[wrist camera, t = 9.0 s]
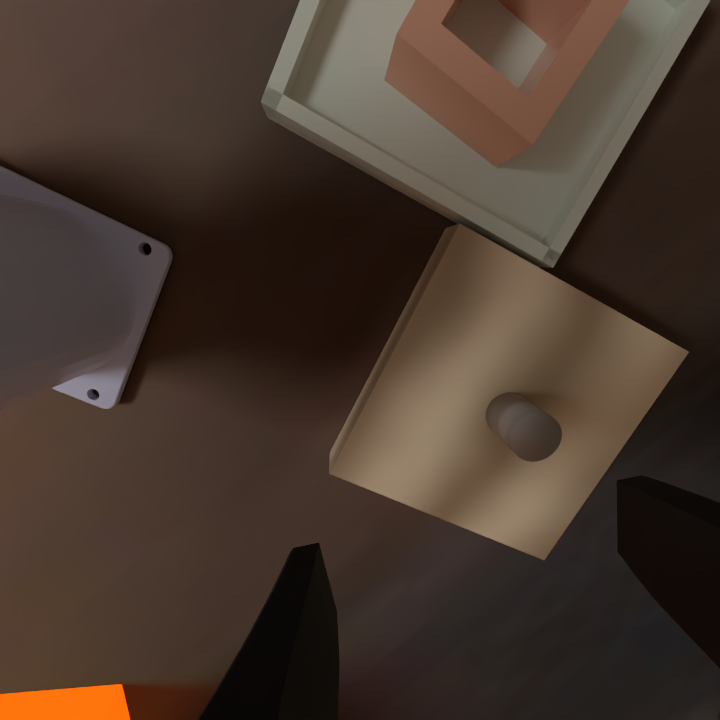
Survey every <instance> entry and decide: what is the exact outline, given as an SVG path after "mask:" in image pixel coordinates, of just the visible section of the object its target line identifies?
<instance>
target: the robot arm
mask: <svg viewBox="0 0 720 720" xmlns="http://www.w3.org/2000/svg"><path fill="white" fill-rule="evenodd" d="M146 243H148V244H149V245H150V246H151V253H150V254H149V255H146V254H145V253H144V251H143V246H144V245H145V244H146ZM172 258H173V255H172V251H171V249H170V248H169V247H168V246H167V245H166V244H164V243H162V242H160V241H158V240H155V239H153V238H151V237H149V236H147V235H145V234H143V233H141V232H139V231H137V230H135V229H132V228H130V227H128V226H126V225H124V224H122V223H120V222H118V221H116V220H114V219H111V218H109V217H107V216H105V215H103V214H101V213H99V212H97V211H95V210H93V209H90V208H88V207H86V206H84V205H82V204H80V203H78V202H76V201H74V200H72V199H70V198H67V197H65V196H63V195H61V194H59V193H57V192H55V191H53V190H51V189H49V188H46V187H44V186H42V185H40V184H38V183H36V182H34V181H32V180H30V179H28V178H25V177H23V176H21V175H19V174H17V173H15V172H13V171H11V170H9V169H7V168H4V167H2V166H0V410H2V409H5V408H7V407H9V406H11V405H14V404H16V403H18V402H21V401H23V400H25V399H28V398H30V397H32V396H35V395H37V394H39V393H42V392H44V391H46V390H49V389H51V388H52V389H54V390H57V391H59V392H62V393H65V394H67V395H70V396H72V397H75V398H77V399H80V400H82V401H85V402H88V403H90V404H93V405H95V406H98V407H100V408H104V409H109V408H112V407H113V406H115V405H117V404H118V402H119V401H120V399H121V396H122V393H123V391H124V388H125V385H126V382H127V380H128V377H129V374H130V372H131V369H132V366H133V364H134V361H135V358H136V356H137V353H138V350H139V348H140V345H141V342H142V340H143V337H144V334H145V332H146V329H147V326H148V324H149V321H150V318H151V316H152V313H153V310H154V307H155V305H156V302H157V299H158V297H159V294H160V291H161V289H162V286H163V283H164V281H165V278H166V275H167V273H168V270H169V267H170V265H171V262H172ZM93 389H95V390H97V391H98V393H99V397H97V396H95V395H94V394H93ZM617 532H618V553H619V554H620V555H621V557H622V558H623V559H624V561H625V562H626V563H627V565H628V566H629V567H630V569H631V570H632V571H633V573H634V574H635V576H636V577H637V578H638V579H639V581H640V582H641V583H642V584H643V586H644V587H645V588H646V589H647V591H648V592H649V593H650V594H651V596H652V597H653V598H654V599H655V600H656V601H657V602H658V603H659V604H660V606H661V607H662V608H663V609H664V610H665V611H666V612H667V613H668V614H669V615H670V616H671V617H672V618H673V619H674V621H675V622H676V623H677V624H678V625H679V626H680V627H681V628H682V629H683V630H684V631H685V632H686V633H687V634H688V635H689V636H690V638H691V639H692V640H693V641H694V642H695V643H696V644H697V645H698V646H699V647H700V648H701V649H702V650H703V651H704V652H705V653H706V654H707V655H708V656H709V657H710V659H711V660H712V661H713V662H714V663H715V664H716V665H717V666H718V667H719V668H720V503H719V502H716V501H713V500H710V499H708V498H705V497H702V496H700V495H697V494H694V493H692V492H689V491H686V490H683V489H681V488H678V487H675V486H672V485H669V484H667V483H664V482H661V481H658V480H655V479H652V478H648V477H645V476H637V477H632V478H627V479H622V480H618V481H617ZM338 689H339V643H338V625H337V610H336V607H335V603H334V599H333V595H332V591H331V587H330V583H329V580H328V576H327V572H326V568H325V564H324V560H323V557H322V553H321V549H320V545H319V543H315V544H311V545H306V546H301V547H296V548H293V549H292V551H291V552H290V554H289V556H288V558H287V560H286V562H285V564H284V567H283V569H282V571H281V573H280V575H279V577H278V579H277V581H276V583H275V585H274V587H273V589H272V591H271V593H270V595H269V597H268V599H267V601H266V603H265V605H264V607H263V609H262V610H261V612H260V614H259V616H258V618H257V620H256V622H255V623H254V625H253V627H252V629H251V631H250V633H249V635H248V636H247V638H246V640H245V642H244V644H243V645H242V647H241V649H240V650H239V652H238V654H237V656H236V657H235V659H234V661H233V662H232V664H231V666H230V667H229V669H228V671H227V672H226V674H225V676H224V677H223V679H222V681H221V682H220V684H219V686H218V688H217V689H216V691H215V692H214V694H213V696H212V697H211V699H210V700H209V702H208V704H207V705H206V707H205V708H204V710H203V711H202V713H201V714H200V716H199V718H198V719H197V720H337V716H338Z"/></svg>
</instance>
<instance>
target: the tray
mask: <svg viewBox="0 0 720 720" xmlns="http://www.w3.org/2000/svg"><path fill="white" fill-rule="evenodd" d="M414 2H415V0H300V2H299V5H298V7H297V10H296V12H295V15H294V17H293V20H292V23H291V25H290V28H289V30H288V33H287V35H286V38H285V41H284V43H283V46H282V48H281V51H280V53H279V56H278V59H277V61H276V64H275V66H274V69H273V71H272V74H271V77H270V79H269V82H268V84H267V87H266V90H265V92H264V95H263V97H262V100H261V104H262V106H263V108H264V111H265V113H266V115H267V117H268V118H269V119H271V120H273V121H274V122H276V123H278V124H280V125H281V126H283V127H285V128H287V129H289V130H290V131H292V132H294V133H296V134H298V135H299V136H301V137H303V138H305V139H306V140H308V141H310V142H312V143H314V144H315V145H317V146H319V147H321V148H323V149H324V150H326V151H328V152H330V153H331V154H333V155H335V156H337V157H339V158H340V159H342V160H344V161H346V162H348V163H349V164H351V165H353V166H355V167H356V168H358V169H360V170H362V171H364V172H365V173H367V174H369V175H371V176H373V177H374V178H376V179H378V180H380V181H381V182H383V183H385V184H387V185H389V186H390V187H392V188H394V189H396V190H398V191H399V192H401V193H403V194H405V195H406V196H408V197H410V198H412V199H414V200H415V201H417V202H419V203H421V204H423V205H424V206H426V207H428V208H430V209H431V210H433V211H435V212H437V213H439V214H440V215H442V216H444V217H446V218H448V219H449V220H451V221H453V222H455V223H456V224H462V225H464V226H466V227H467V228H469V229H471V230H473V231H475V232H476V233H478V234H480V235H482V236H484V237H485V238H487V239H489V240H491V241H492V242H494V243H496V244H498V245H500V246H501V247H503V248H505V249H507V250H508V251H510V252H512V253H514V254H516V255H517V256H519V257H521V258H523V259H524V260H526V261H528V262H530V263H532V264H533V265H535V266H537V267H546V268H553V267H554V266H555V264H556V262H557V260H558V259H559V257H560V255H561V254H562V252H563V250H564V248H565V247H566V245H567V243H568V242H569V240H570V238H571V237H572V235H573V233H574V231H575V230H576V228H577V226H578V225H579V223H580V221H581V220H582V218H583V216H584V214H585V213H586V211H587V209H588V208H589V206H590V204H591V203H592V201H593V199H594V197H595V196H596V194H597V192H598V191H599V189H600V187H601V186H602V184H603V182H604V180H605V179H606V177H607V175H608V174H609V172H610V170H611V169H612V167H613V165H614V163H615V162H616V160H617V158H618V157H619V155H620V153H621V152H622V150H623V148H624V146H625V145H626V143H627V141H628V140H629V138H630V136H631V134H632V133H633V131H634V129H635V128H636V126H637V124H638V123H639V121H640V119H641V117H642V116H643V114H644V112H645V111H646V109H647V107H648V106H649V104H650V102H651V100H652V99H653V97H654V95H655V94H656V92H657V90H658V89H659V87H660V85H661V83H662V82H663V80H664V78H665V77H666V75H667V73H668V72H669V70H670V68H671V66H672V65H673V63H674V61H675V60H676V58H677V56H678V55H679V53H680V51H681V49H682V48H683V46H684V44H685V43H686V41H687V39H688V37H689V36H690V34H691V32H692V31H693V29H694V27H695V26H696V24H697V22H698V20H699V19H700V17H701V15H702V14H703V12H704V10H705V9H706V7H707V5H708V3H709V2H710V0H629V2H628V3H627V5H626V6H625V8H624V9H623V11H622V12H621V14H620V15H619V17H618V18H617V20H616V21H615V23H614V24H613V26H612V27H611V29H610V30H609V32H608V33H607V35H606V36H605V38H604V39H603V41H602V42H601V44H600V45H599V47H598V48H597V50H596V51H595V53H594V54H593V56H592V57H591V59H590V60H589V62H588V63H587V65H586V66H585V68H584V69H583V71H582V72H581V74H580V75H579V77H578V78H577V80H576V81H575V82H574V84H573V85H572V87H571V88H570V90H569V91H568V93H567V94H566V96H565V97H564V99H563V100H562V102H561V103H560V105H559V106H558V108H557V109H556V111H555V112H554V114H553V115H552V117H551V118H550V120H549V121H548V123H547V124H546V126H545V127H544V129H543V130H542V132H541V133H540V135H539V136H538V138H537V139H536V141H535V142H534V144H533V145H532V146H530V147H528V148H527V149H525V150H524V151H522V152H520V153H519V154H517V155H515V156H514V157H512V158H511V159H509V160H507V161H506V162H504V163H502V164H501V165H499V166H497V167H495V166H493V165H492V164H491V163H489V162H488V161H487V160H486V159H484V158H483V157H482V156H480V155H479V154H478V153H477V152H475V151H474V150H473V149H471V148H470V147H469V146H468V145H466V144H465V143H464V142H463V141H461V140H460V139H459V138H457V137H456V136H455V135H454V134H452V133H451V132H450V131H448V130H447V129H446V128H445V127H443V126H442V125H441V124H440V123H438V122H437V121H436V120H434V119H433V118H432V117H431V116H429V115H428V114H427V113H425V112H424V111H423V110H422V109H420V108H419V107H418V106H416V105H415V104H414V103H413V102H411V101H410V100H409V99H408V98H406V97H405V96H404V95H402V94H401V93H400V92H399V91H397V90H396V89H395V88H393V87H392V86H391V85H390V84H388V83H387V82H386V81H385V80H384V79H385V75H386V71H387V68H388V64H389V60H390V56H391V53H392V49H393V45H394V41H395V38H396V34H397V32H398V30H399V28H400V27H401V25H402V23H403V21H404V20H405V18H406V16H407V14H408V12H409V11H410V9H411V7H412V5H413V4H414ZM446 28H447V29H448V30H449V31H450V32H451V33H453V34H454V35H455V36H456V37H457V38H458V39H460V40H461V41H462V42H463V43H464V44H466V45H467V46H468V47H469V48H470V49H472V50H473V51H474V52H475V53H476V54H477V55H479V56H480V57H481V58H482V59H483V60H485V61H486V62H487V63H488V64H489V65H490V66H492V67H493V68H494V69H495V70H496V71H498V72H499V73H500V74H501V75H502V76H503V77H505V78H506V79H507V80H508V81H509V82H511V83H512V84H513V85H514V86H515V87H517V88H519V87H520V85H521V83H522V82H523V80H524V79H525V77H526V76H527V74H528V73H529V71H530V69H531V68H532V66H533V65H534V63H535V62H536V60H537V59H538V57H539V55H540V54H541V52H542V51H543V49H544V48H545V46H546V43H545V42H544V41H543V40H542V39H541V38H540V37H539V36H537V35H536V34H535V33H534V32H533V31H532V30H531V29H530V28H528V27H527V26H526V25H525V24H524V23H523V22H522V21H521V20H519V19H518V18H517V17H516V16H515V15H514V14H513V13H512V12H510V11H509V10H508V9H507V8H506V7H505V6H504V5H503V4H501V3H500V2H499V1H498V0H462V1H461V3H460V5H459V6H458V8H457V10H456V11H455V13H454V15H453V17H452V18H451V20H450V22H449V23H448V25H447V27H446Z"/></svg>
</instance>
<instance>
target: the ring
mask: <svg viewBox="0 0 720 720" xmlns="http://www.w3.org/2000/svg"><path fill="white" fill-rule="evenodd" d="M461 1H462V0H415V2H414V4H413V5H412V7H411V9H410V11H409V12H408V14H407V16H406V18H405V20H404V21H403V23H402V25H401V27H400V28H399V30H398V32H397V34H396V38H395V41H394V45H393V49H392V53H391V56H390V60H389V64H388V68H387V71H386V75H385V79H384V80H385V81H386V82H387V83H388V84H390V85H391V86H392V87H393V88H395V89H396V90H397V91H399V92H400V93H401V94H402V95H404V96H405V97H406V98H408V99H409V100H410V101H411V102H413V103H414V104H415V105H416V106H418V107H419V108H420V109H422V110H423V111H424V112H425V113H427V114H428V115H429V116H431V117H432V118H433V119H434V120H436V121H437V122H438V123H440V124H441V125H442V126H443V127H445V128H446V129H447V130H448V131H450V132H451V133H452V134H454V135H455V136H456V137H457V138H459V139H460V140H461V141H463V142H464V143H465V144H466V145H468V146H469V147H470V148H471V149H473V150H474V151H475V152H477V153H478V154H479V155H480V156H482V157H483V158H484V159H486V160H487V161H488V162H489V163H491V164H492V165H493V166H495V167H497V166H499V165H501V164H502V163H504V162H506V161H507V160H509V159H511V158H512V157H514V156H515V155H517V154H519V153H520V152H522V151H524V150H525V149H527V148H528V147H530V146H532V145H533V144H534V142H535V141H536V139H537V138H538V136H539V135H540V133H541V132H542V130H543V129H544V127H545V126H546V124H547V123H548V121H549V120H550V118H551V117H552V115H553V114H554V112H555V111H556V109H557V108H558V106H559V105H560V103H561V102H562V100H563V99H564V97H565V96H566V94H567V93H568V91H569V90H570V88H571V87H572V85H573V84H574V82H575V81H576V80H577V78H578V77H579V75H580V74H581V72H582V71H583V69H584V68H585V66H586V65H587V63H588V62H589V60H590V59H591V57H592V56H593V54H594V53H595V51H596V50H597V48H598V47H599V45H600V44H601V42H602V41H603V39H604V38H605V36H606V35H607V33H608V32H609V30H610V29H611V27H612V26H613V24H614V23H615V21H616V20H617V18H618V17H619V15H620V14H621V12H622V11H623V9H624V8H625V6H626V5H627V3H628V2H629V0H498V1H499V2H500V3H501V4H503V5H504V6H505V7H506V8H507V9H508V10H509V11H510V12H512V13H513V14H514V15H515V16H516V17H517V18H518V19H519V20H521V21H522V22H523V23H524V24H525V25H526V26H527V27H528V28H530V29H531V30H532V31H533V32H534V33H535V34H536V35H537V36H539V37H540V38H541V39H542V40H543V41H544V42H545V43H546V46H545V48H544V49H543V51H542V52H541V54H540V55H539V57H538V59H537V60H536V62H535V63H534V65H533V66H532V68H531V69H530V71H529V73H528V74H527V76H526V77H525V79H524V80H523V82H522V83H521V85H520V87H519V88H517V87H515V86H514V85H513V84H512V83H511V82H509V81H508V80H507V79H506V78H505V77H503V76H502V75H501V74H500V73H499V72H498V71H496V70H495V69H494V68H493V67H492V66H490V65H489V64H488V63H487V62H486V61H485V60H483V59H482V58H481V57H480V56H479V55H477V54H476V53H475V52H474V51H473V50H472V49H470V48H469V47H468V46H467V45H466V44H464V43H463V42H462V41H461V40H460V39H458V38H457V37H456V36H455V35H454V34H453V33H451V32H450V31H449V30H448V29H447V28H446V27H447V25H448V23H449V22H450V20H451V18H452V17H453V15H454V13H455V11H456V10H457V8H458V6H459V5H460V3H461Z"/></svg>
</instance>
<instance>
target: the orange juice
mask: <svg viewBox="0 0 720 720" xmlns="http://www.w3.org/2000/svg"><path fill="white" fill-rule="evenodd" d="M0 720H130V717H129V713H128V708H127V704H126V700H125V695H124V691H123V687H122V684H118V685H106V686H93V687H81V688H69V689H57V690H45V691H33V692H21V693H9V694H0Z"/></svg>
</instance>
